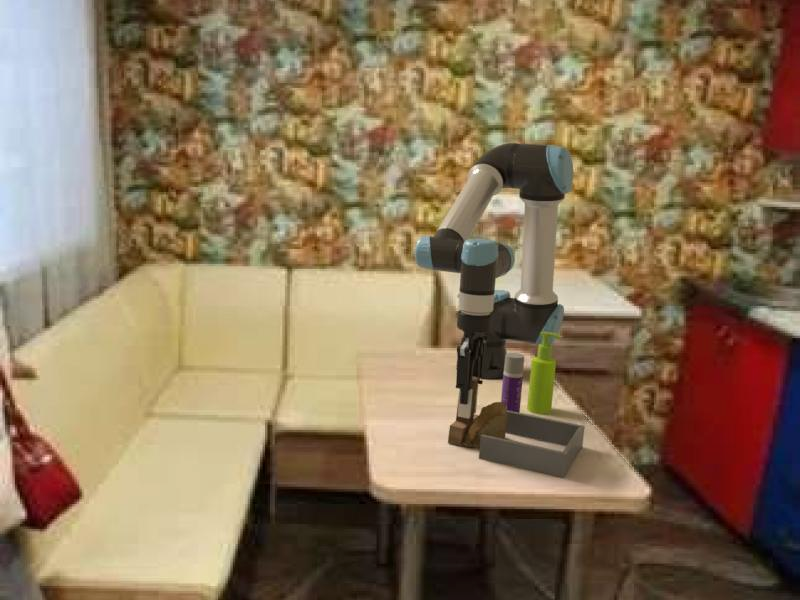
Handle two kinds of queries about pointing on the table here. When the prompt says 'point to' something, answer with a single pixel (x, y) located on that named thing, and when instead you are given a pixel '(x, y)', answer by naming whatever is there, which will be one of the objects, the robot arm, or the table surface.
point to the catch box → (531, 454)
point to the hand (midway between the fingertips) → (466, 414)
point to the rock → (488, 424)
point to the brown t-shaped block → (463, 420)
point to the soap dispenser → (542, 377)
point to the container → (512, 381)
